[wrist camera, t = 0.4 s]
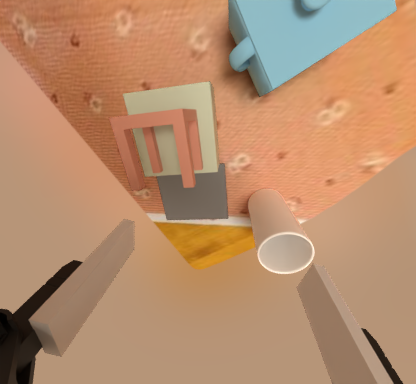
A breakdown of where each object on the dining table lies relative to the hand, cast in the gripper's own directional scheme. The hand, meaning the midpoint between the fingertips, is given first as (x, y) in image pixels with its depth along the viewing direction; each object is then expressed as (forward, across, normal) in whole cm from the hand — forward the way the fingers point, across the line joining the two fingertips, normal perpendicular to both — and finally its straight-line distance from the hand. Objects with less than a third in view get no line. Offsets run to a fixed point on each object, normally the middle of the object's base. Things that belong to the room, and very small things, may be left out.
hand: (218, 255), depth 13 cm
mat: (+27, -6, -10) cm, 30 cm away
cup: (+27, +12, -8) cm, 31 cm away
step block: (+28, -10, +4) cm, 29 cm away
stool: (+20, -10, +3) cm, 22 cm away
